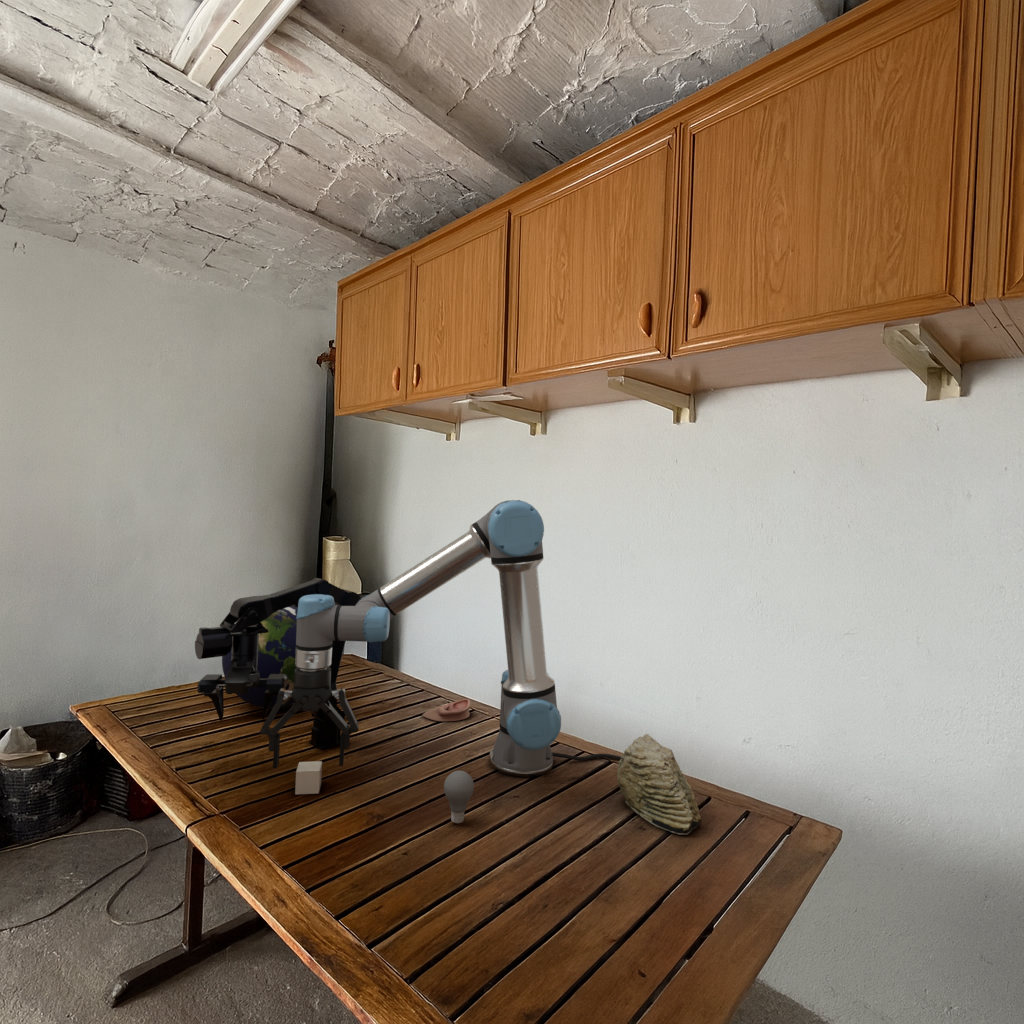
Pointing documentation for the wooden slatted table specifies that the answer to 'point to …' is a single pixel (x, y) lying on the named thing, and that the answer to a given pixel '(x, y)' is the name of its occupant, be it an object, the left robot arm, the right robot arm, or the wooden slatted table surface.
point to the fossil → (657, 786)
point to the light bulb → (458, 793)
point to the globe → (273, 655)
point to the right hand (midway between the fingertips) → (308, 764)
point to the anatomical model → (450, 711)
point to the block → (308, 777)
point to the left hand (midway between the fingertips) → (242, 719)
